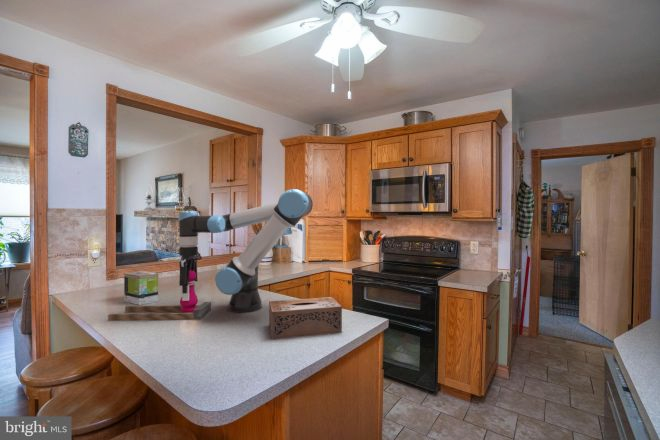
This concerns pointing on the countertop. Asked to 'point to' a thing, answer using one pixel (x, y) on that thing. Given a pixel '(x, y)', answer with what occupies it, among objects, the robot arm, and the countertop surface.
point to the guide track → (197, 314)
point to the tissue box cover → (304, 317)
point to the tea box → (141, 287)
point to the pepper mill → (190, 296)
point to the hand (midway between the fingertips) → (188, 298)
